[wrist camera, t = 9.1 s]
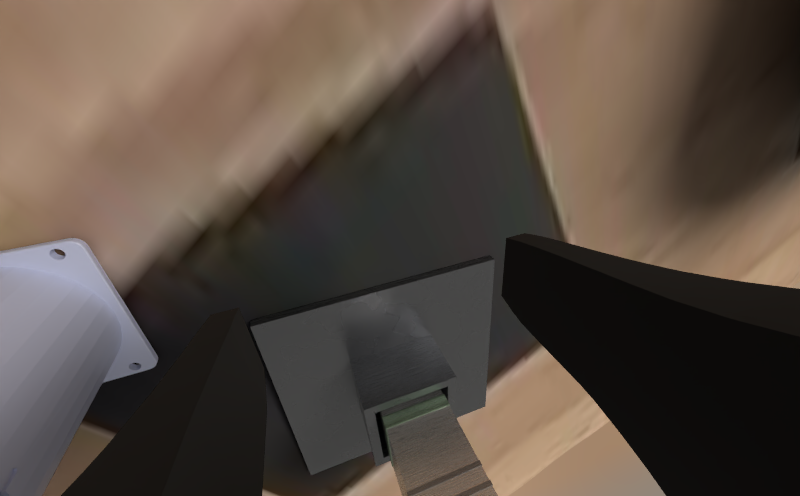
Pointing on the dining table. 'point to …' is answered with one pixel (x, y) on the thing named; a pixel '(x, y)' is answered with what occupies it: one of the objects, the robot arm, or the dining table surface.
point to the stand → (378, 357)
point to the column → (432, 450)
